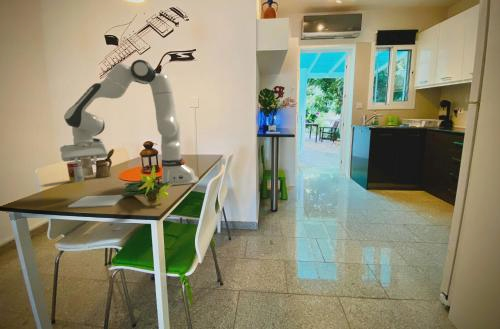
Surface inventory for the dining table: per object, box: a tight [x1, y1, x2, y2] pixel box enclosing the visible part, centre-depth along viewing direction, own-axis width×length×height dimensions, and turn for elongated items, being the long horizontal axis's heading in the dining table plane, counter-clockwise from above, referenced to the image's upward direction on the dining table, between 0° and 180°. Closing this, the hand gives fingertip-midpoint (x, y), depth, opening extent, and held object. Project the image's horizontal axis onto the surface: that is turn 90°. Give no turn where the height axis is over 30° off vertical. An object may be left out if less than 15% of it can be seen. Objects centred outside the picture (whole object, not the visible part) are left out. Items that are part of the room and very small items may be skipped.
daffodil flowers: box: [121, 164, 173, 204], centre depth 116 cm, size 17×15×35 cm
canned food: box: [66, 160, 85, 183], centre depth 157 cm, size 8×8×12 cm
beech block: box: [80, 157, 94, 177], centre depth 127 cm, size 4×4×9 cm
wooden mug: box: [95, 148, 115, 179], centre depth 168 cm, size 9×14×18 cm, turn 143°
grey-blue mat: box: [67, 194, 126, 208], centre depth 119 cm, size 20×14×1 cm
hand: (86, 164), depth 127 cm, fingers closed on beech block, 4 cm apart
